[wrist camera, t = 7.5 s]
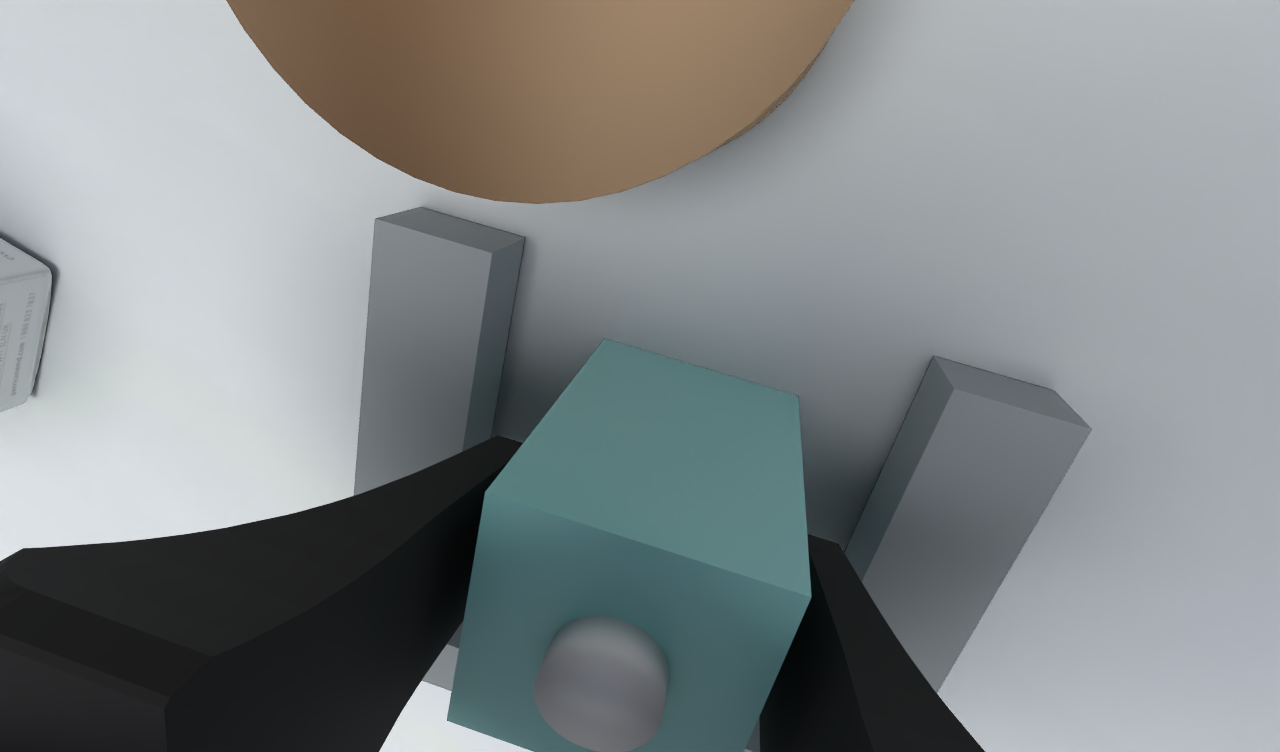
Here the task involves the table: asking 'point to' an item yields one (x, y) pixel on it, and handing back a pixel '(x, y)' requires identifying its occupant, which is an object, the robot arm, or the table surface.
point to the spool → (541, 82)
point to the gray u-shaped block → (895, 512)
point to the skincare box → (21, 322)
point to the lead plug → (638, 564)
